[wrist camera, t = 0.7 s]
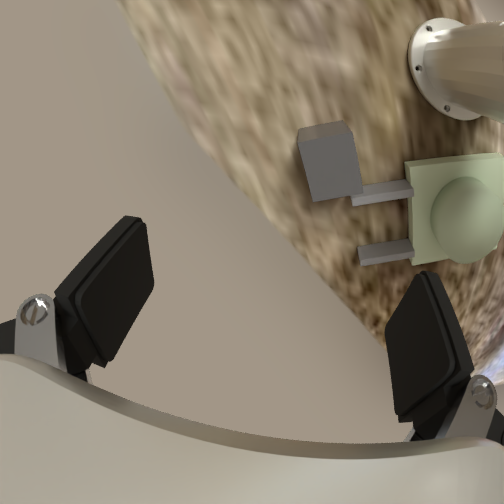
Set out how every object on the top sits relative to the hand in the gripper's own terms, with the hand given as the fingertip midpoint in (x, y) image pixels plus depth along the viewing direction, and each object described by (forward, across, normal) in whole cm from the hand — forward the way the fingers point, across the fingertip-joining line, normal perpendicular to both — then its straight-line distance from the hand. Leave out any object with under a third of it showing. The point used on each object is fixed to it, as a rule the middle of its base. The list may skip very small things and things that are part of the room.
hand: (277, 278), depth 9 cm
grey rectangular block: (+25, -4, +1) cm, 25 cm away
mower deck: (+25, -19, +5) cm, 32 cm away
